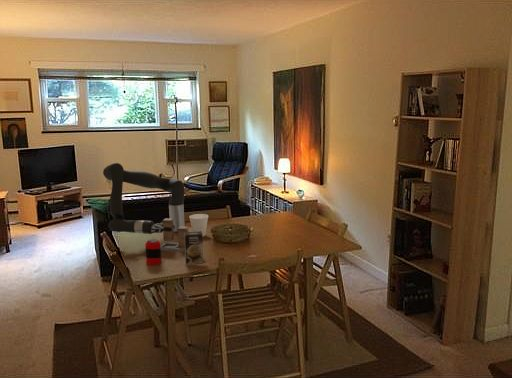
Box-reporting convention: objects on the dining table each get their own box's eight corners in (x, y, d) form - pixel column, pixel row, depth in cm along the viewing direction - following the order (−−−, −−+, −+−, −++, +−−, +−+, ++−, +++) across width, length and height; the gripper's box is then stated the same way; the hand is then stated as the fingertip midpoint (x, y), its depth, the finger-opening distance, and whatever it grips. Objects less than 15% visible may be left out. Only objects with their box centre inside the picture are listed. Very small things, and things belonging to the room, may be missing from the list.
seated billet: (181, 246, 265) (180, 226, 263) (189, 247, 264) (188, 226, 262) (178, 249, 261) (177, 228, 258) (186, 249, 260) (185, 228, 258)
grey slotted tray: (163, 246, 271) (162, 241, 271) (198, 247, 267) (197, 243, 267) (155, 253, 260) (154, 248, 259) (191, 254, 256) (191, 250, 255)
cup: (211, 236, 288) (210, 217, 286) (192, 239, 284) (191, 219, 282) (206, 231, 299) (205, 213, 297) (187, 234, 295) (187, 215, 293)
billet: (166, 238, 266) (165, 218, 263) (174, 239, 265) (173, 218, 263) (163, 241, 261) (162, 220, 259) (171, 241, 260) (170, 220, 258)
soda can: (143, 263, 244) (142, 240, 242) (156, 259, 249) (154, 237, 247) (151, 266, 239) (150, 243, 237) (164, 262, 244) (163, 240, 242)
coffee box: (185, 265, 239) (184, 235, 236) (185, 261, 246) (183, 231, 242) (203, 264, 241) (202, 234, 238) (202, 260, 247) (201, 230, 244)
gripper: (138, 223, 257) (168, 225, 254) (149, 217, 270) (177, 218, 267) (139, 236, 258) (168, 238, 255) (149, 230, 272) (177, 231, 269)
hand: (172, 228), depth 261 cm, fingers closed on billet, 4 cm apart
